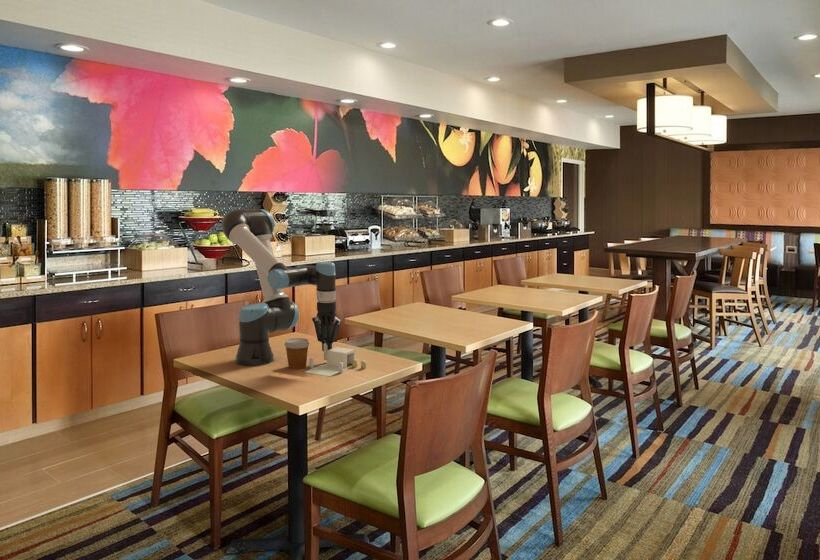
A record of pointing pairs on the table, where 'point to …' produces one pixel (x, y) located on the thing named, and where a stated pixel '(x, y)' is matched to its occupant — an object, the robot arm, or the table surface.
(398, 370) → the table surface
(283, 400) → the table surface
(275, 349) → the table surface
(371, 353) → the table surface
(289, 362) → the disposable coffee cup
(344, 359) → the block
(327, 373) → the board
